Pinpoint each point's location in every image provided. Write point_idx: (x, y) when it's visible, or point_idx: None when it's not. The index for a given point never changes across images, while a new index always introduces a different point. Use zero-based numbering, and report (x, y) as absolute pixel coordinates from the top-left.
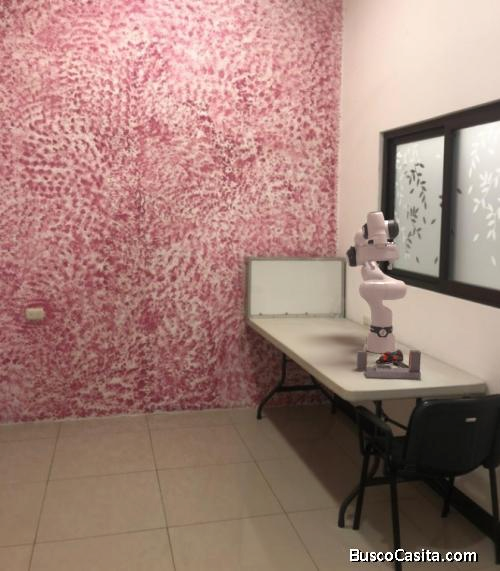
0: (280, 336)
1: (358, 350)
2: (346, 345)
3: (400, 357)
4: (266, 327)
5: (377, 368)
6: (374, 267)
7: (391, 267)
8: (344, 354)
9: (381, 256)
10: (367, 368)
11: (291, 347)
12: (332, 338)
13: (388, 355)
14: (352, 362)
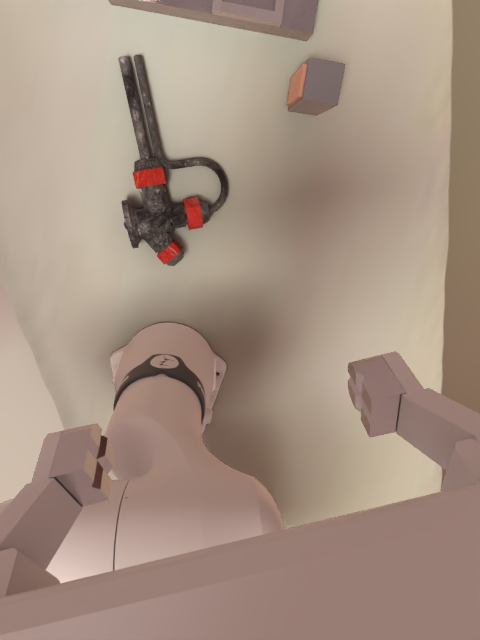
0: None
1: (333, 100)
2: (262, 424)
3: (137, 178)
4: None
5: None
6: (367, 377)
7: (51, 445)
8: (301, 313)
9: (259, 633)
10: (311, 1)
11: None
12: (281, 501)
13: (176, 213)
14: (305, 205)
